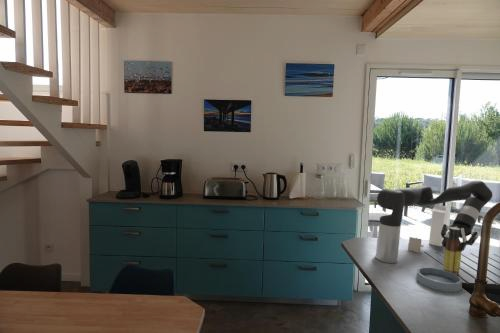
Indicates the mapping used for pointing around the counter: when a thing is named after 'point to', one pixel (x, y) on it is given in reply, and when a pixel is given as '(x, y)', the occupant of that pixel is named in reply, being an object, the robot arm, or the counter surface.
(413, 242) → the beige square block
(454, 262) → the sauce bottle
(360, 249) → the counter surface
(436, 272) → the round grey tray
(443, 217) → the milk
